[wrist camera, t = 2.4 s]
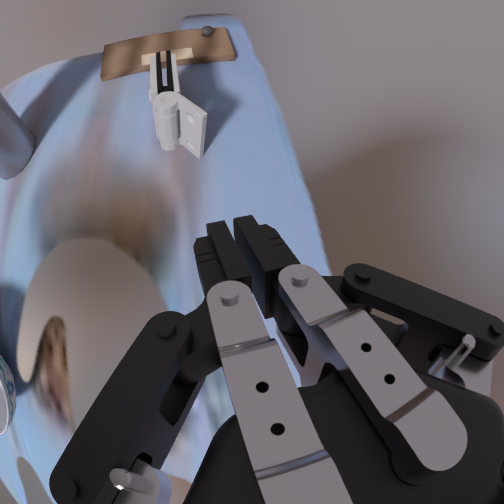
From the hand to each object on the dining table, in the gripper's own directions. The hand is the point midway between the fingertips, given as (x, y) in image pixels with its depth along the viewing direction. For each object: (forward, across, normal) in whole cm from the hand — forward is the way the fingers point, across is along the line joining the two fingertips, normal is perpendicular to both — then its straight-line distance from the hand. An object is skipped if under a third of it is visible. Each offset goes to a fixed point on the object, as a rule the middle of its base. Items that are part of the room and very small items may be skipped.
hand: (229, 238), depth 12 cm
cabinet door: (+47, 0, -13) cm, 48 cm away
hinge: (+33, 0, +1) cm, 33 cm away
